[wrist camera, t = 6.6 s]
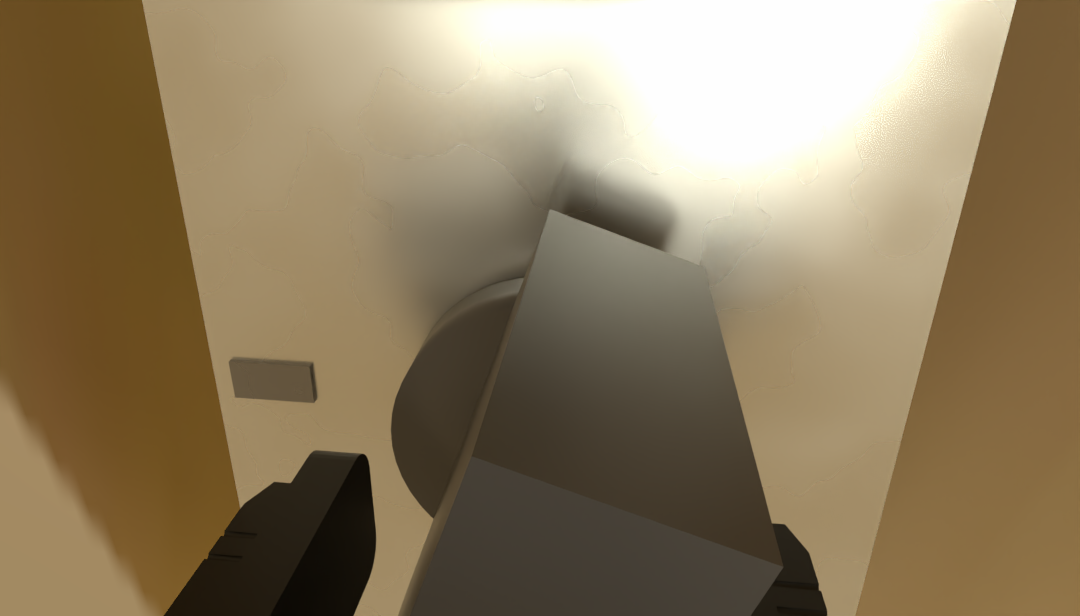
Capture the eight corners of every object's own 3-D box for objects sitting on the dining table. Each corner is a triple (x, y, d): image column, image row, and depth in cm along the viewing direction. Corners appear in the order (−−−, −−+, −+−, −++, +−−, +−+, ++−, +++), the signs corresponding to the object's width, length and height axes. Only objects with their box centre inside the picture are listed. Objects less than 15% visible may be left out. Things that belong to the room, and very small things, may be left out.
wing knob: (483, 153, 12) (259, 443, 5) (768, 261, 12) (982, 698, 5) (368, 512, 15) (132, 1007, 8) (592, 591, 16) (563, 1142, 8)
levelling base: (979, -209, 12) (1236, -338, 7) (798, 617, 19) (858, 841, 14) (204, -205, 13) (-57, -313, 8) (317, 573, 20) (219, 766, 16)
